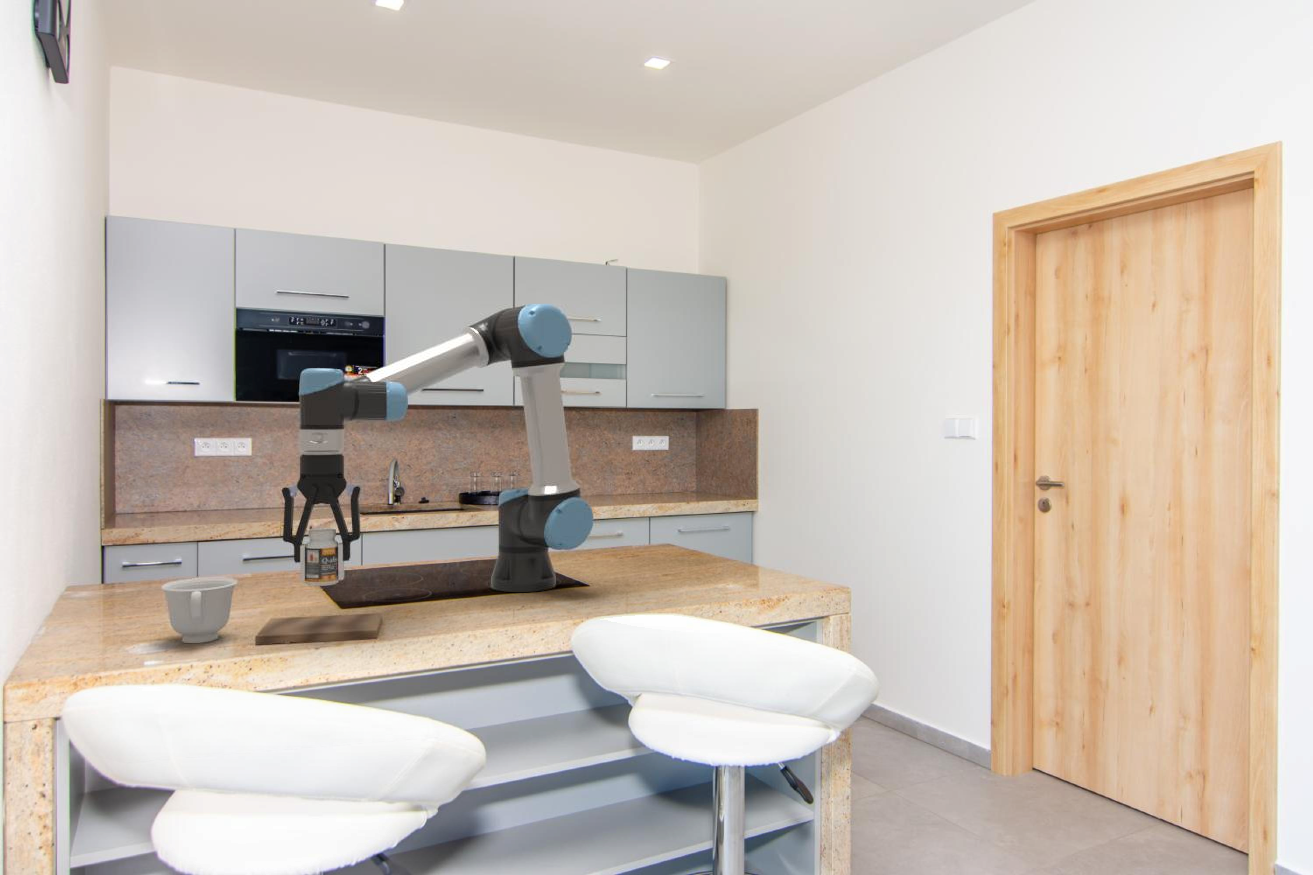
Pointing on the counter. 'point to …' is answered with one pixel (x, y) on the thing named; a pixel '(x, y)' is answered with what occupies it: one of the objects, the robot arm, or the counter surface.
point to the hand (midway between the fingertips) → (322, 579)
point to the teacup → (199, 606)
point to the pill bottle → (322, 558)
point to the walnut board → (320, 628)
